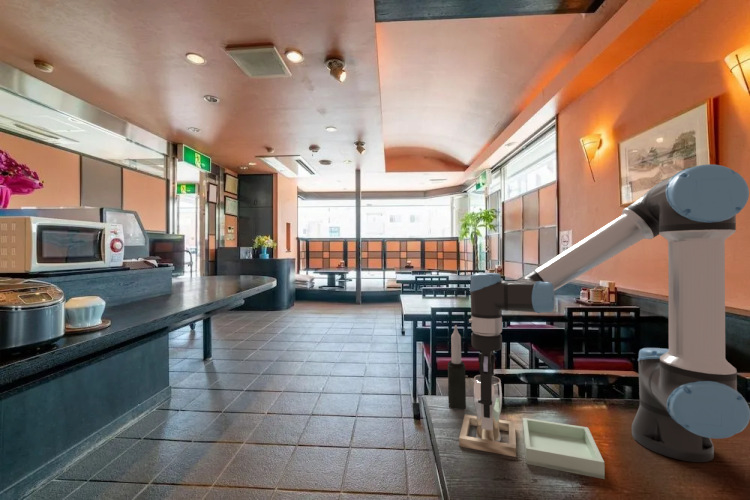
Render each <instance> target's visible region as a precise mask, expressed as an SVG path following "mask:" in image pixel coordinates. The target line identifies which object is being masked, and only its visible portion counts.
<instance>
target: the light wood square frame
mask: <svg viewBox="0 0 750 500" xmlns="http://www.w3.org/2000/svg"><path fill="white" fill-rule="evenodd" d="M471 426H474V427H475V426H476V427H477V415H473V414H466V413H465V414H464V417H463V421H462V424H461V428H460V429H461V430H460V434H459V437H458V440H459V441H458V447H461V448H462V447H463V448H467V449H473V450H477V451H478V450H479V451H482V452H483V451H484V452H489V453H494V454H500V455H504V456H509V457H515V458H517V443H516V442H517V440H516V439H517V437H516V436H517V435H516V422H515V421H510V420H506V419H505V420H504V419H499V431H504V432H505V431H506V432H508V443H507V442H501V441H500V442H497V441H491V440H486V439H480V438H477V437H473V436H469V433H470V432H469V431H470V427H471Z"/></svg>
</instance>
